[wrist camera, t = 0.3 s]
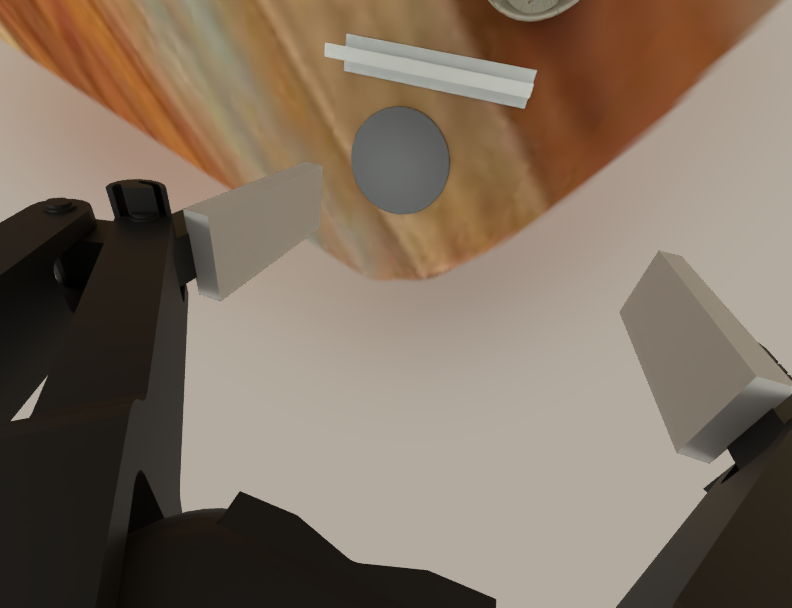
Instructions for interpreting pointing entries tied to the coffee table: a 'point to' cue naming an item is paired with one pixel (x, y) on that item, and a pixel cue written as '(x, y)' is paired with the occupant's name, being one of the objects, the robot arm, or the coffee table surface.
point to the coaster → (400, 160)
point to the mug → (532, 8)
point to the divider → (435, 70)
